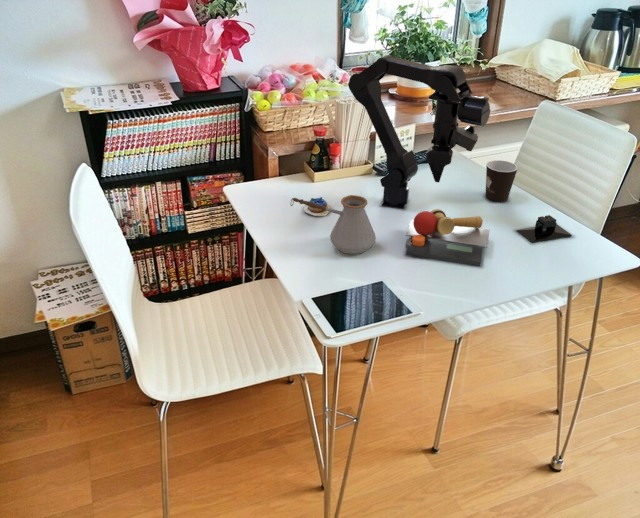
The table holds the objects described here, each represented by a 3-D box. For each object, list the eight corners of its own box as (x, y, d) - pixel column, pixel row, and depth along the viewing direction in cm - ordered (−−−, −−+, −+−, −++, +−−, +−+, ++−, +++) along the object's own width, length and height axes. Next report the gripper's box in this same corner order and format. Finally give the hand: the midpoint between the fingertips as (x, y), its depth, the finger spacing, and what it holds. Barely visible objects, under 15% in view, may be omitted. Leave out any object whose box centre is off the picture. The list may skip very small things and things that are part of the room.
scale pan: (405, 235, 149) (405, 234, 149) (411, 219, 156) (411, 218, 156) (487, 247, 144) (487, 246, 144) (489, 230, 152) (489, 229, 151)
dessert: (326, 216, 162) (314, 198, 161) (307, 225, 166) (296, 207, 165) (336, 206, 169) (325, 188, 168) (318, 215, 172) (307, 198, 171)
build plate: (554, 224, 161) (558, 209, 159) (572, 237, 155) (576, 221, 153) (515, 231, 158) (519, 215, 155) (532, 244, 152) (536, 228, 149)
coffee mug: (512, 205, 171) (518, 173, 165) (481, 202, 172) (487, 170, 167) (509, 188, 180) (515, 157, 175) (480, 186, 182) (485, 155, 176)
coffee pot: (368, 233, 156) (371, 181, 148) (380, 256, 146) (384, 201, 138) (288, 241, 152) (286, 187, 144) (295, 264, 143) (293, 209, 135)
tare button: (411, 245, 145) (411, 239, 145) (413, 240, 148) (413, 233, 147) (423, 247, 145) (424, 241, 144) (425, 241, 147) (425, 235, 146)
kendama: (468, 223, 157) (406, 222, 151) (476, 203, 153) (413, 202, 147) (480, 242, 151) (416, 241, 146) (489, 222, 147) (423, 221, 142)
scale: (403, 257, 146) (404, 246, 144) (412, 229, 158) (413, 219, 157) (479, 269, 142) (481, 258, 140) (483, 239, 154) (485, 229, 152)
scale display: (446, 249, 144) (446, 248, 143) (447, 244, 145) (447, 243, 145) (471, 252, 142) (471, 252, 142) (472, 248, 144) (472, 247, 144)
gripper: (475, 133, 141) (467, 193, 149) (480, 110, 156) (472, 165, 165) (429, 129, 144) (422, 187, 152) (438, 106, 159) (432, 161, 167)
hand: (439, 175), depth 159 cm, fingers open, 9 cm apart
